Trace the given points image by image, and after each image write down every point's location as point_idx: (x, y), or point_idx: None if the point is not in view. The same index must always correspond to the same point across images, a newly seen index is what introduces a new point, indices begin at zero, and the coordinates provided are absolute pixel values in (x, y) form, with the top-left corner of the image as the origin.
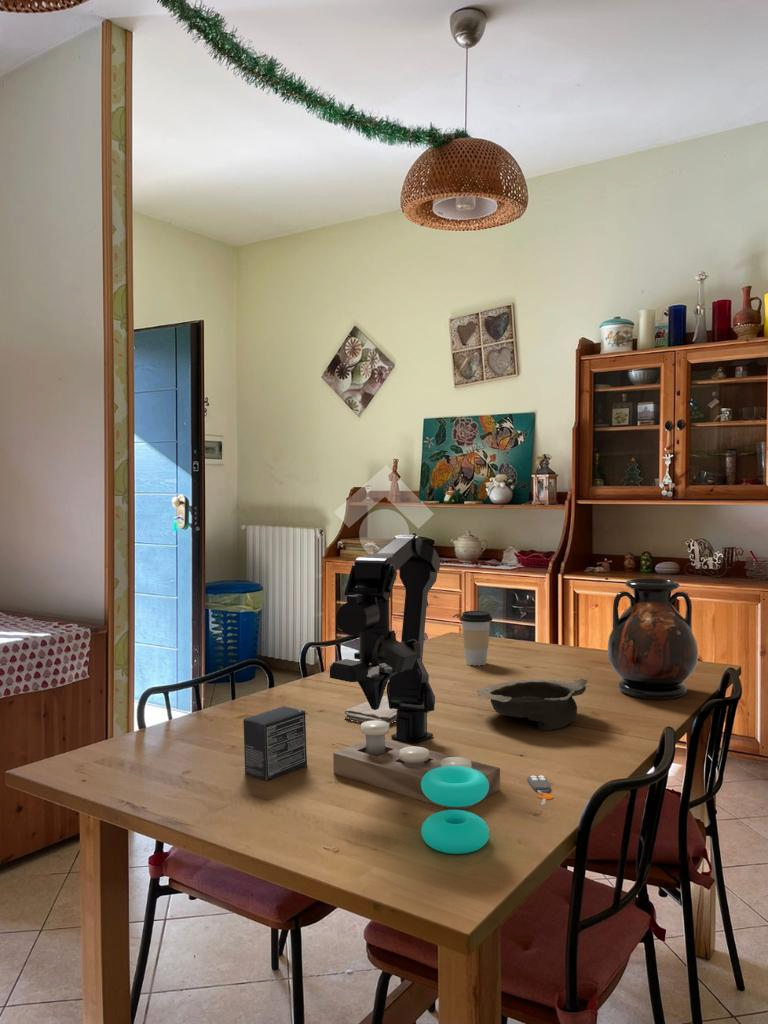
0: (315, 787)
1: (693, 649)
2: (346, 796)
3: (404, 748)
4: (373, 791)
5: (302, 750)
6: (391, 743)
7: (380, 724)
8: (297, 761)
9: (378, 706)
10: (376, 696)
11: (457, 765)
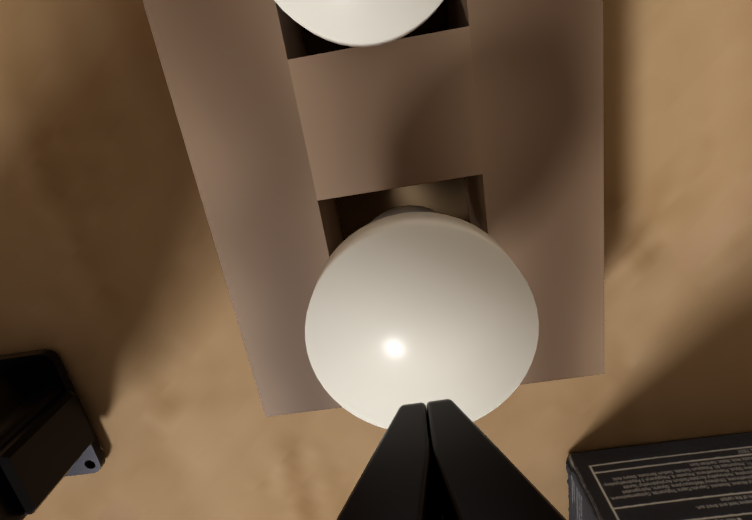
0: (737, 253)
1: None
2: (743, 67)
3: (369, 26)
4: (611, 21)
5: (624, 505)
6: (269, 281)
7: (384, 314)
8: (639, 468)
9: (411, 418)
10: (520, 507)
11: None
